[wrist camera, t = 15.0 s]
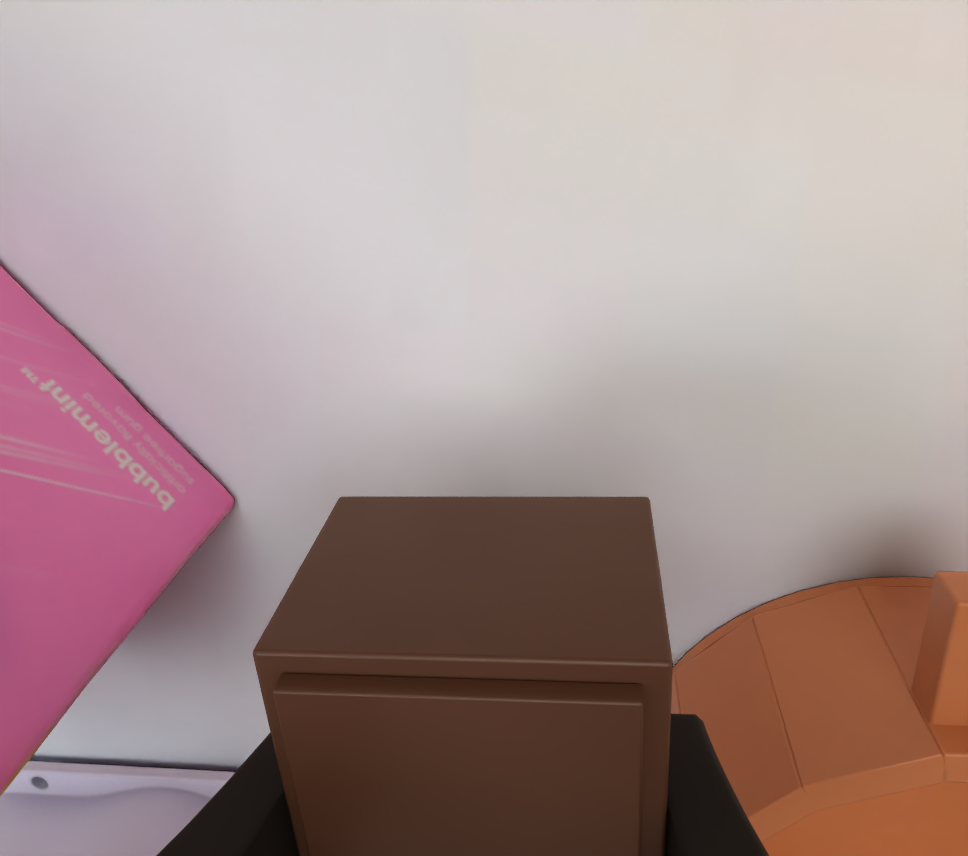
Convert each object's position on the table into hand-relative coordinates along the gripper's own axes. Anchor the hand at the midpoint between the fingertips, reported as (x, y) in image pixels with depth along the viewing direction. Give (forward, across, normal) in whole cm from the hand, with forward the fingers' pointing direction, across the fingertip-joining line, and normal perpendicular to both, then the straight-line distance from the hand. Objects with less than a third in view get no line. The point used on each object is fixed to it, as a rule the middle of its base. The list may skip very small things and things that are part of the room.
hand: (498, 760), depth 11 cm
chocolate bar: (+1, 0, 0) cm, 1 cm away
